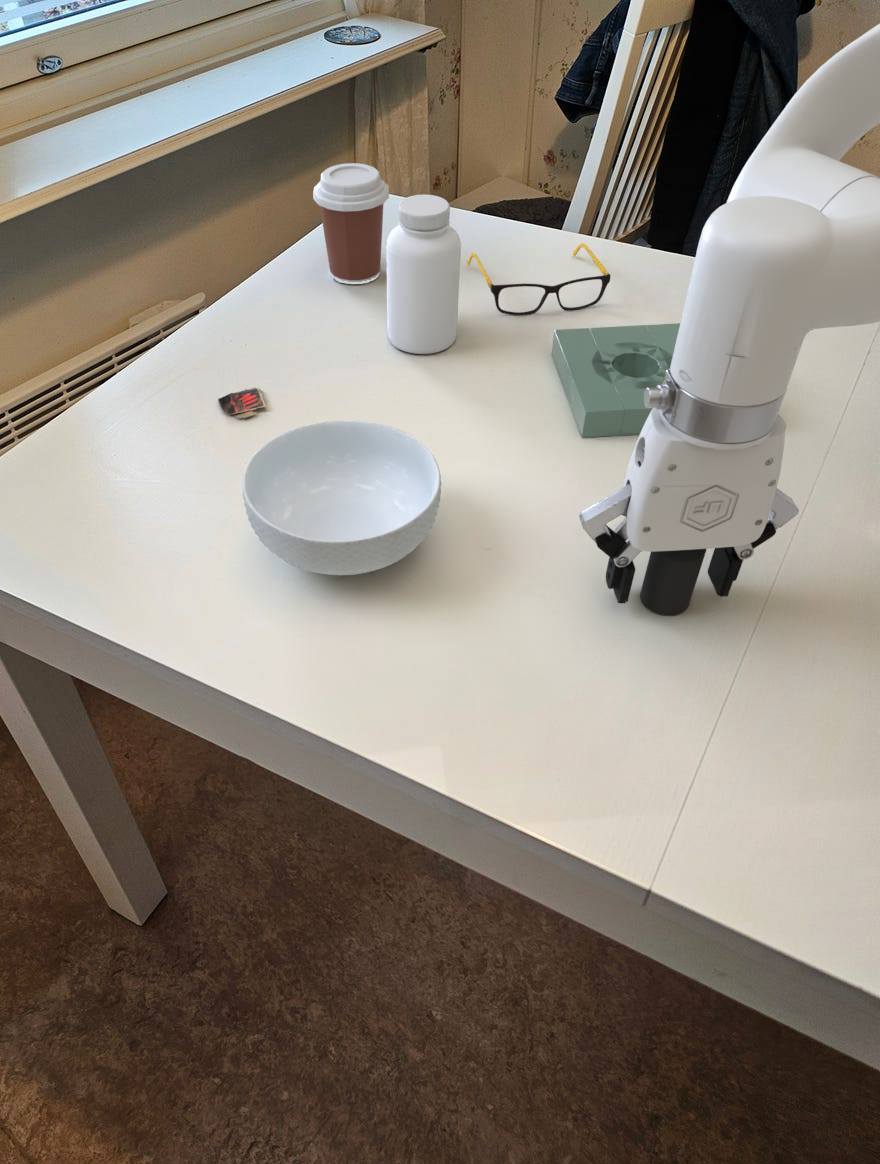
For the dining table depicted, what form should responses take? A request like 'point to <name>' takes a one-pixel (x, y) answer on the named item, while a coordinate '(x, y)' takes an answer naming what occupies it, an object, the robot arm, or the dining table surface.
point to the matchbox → (242, 402)
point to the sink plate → (612, 374)
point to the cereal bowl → (342, 496)
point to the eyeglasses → (548, 289)
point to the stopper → (671, 580)
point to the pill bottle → (423, 276)
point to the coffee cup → (352, 219)
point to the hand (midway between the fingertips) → (667, 587)
